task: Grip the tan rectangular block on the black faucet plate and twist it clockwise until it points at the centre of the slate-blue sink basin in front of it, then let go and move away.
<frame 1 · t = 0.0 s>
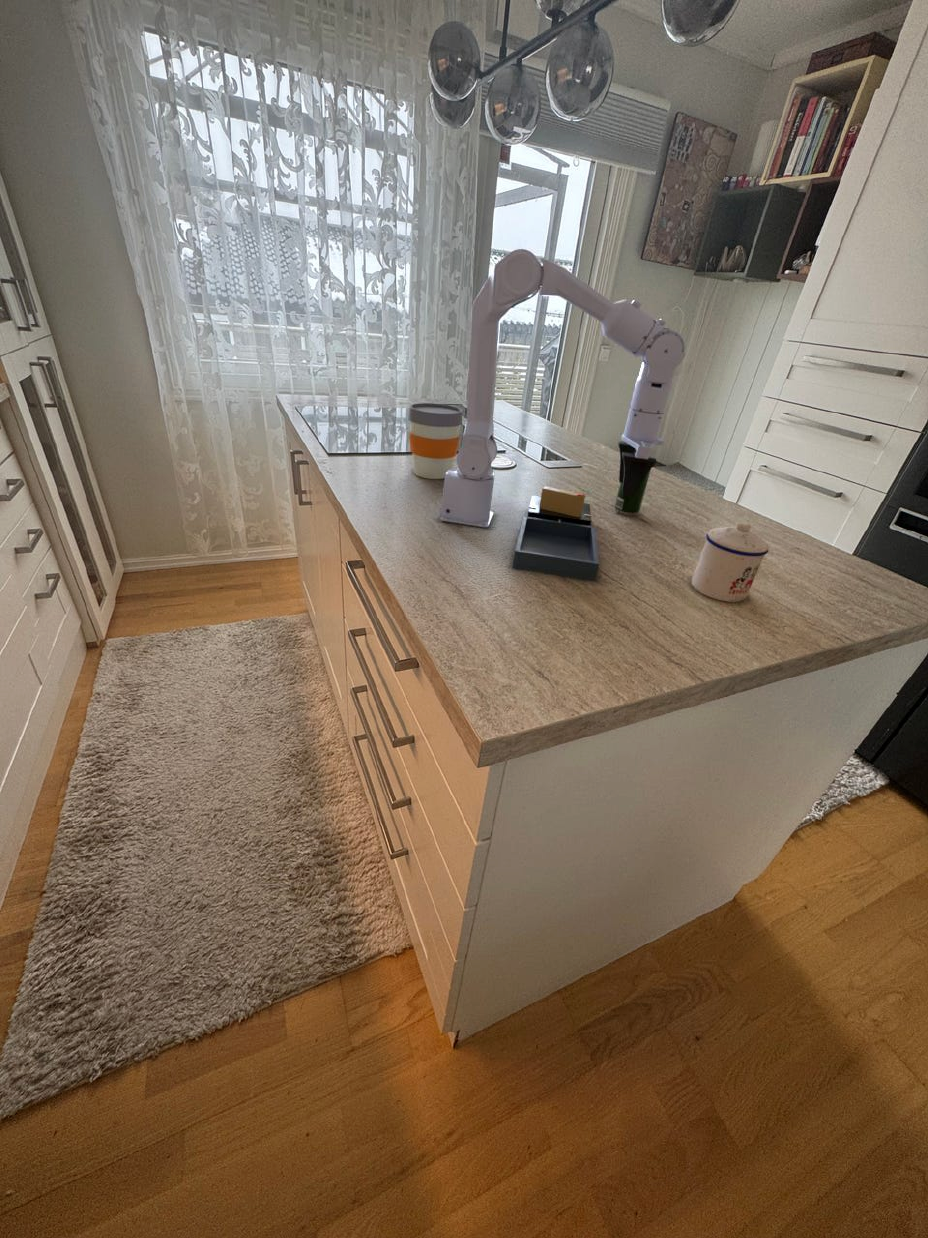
hand: (626, 488, 94), 10 cm above the worktop, tool pointing down, fingers open, 7 cm apart
beer can: (625, 512, 115), on the worktop
teacup with lid: (721, 588, 86), on the worktop
faucet plate: (556, 524, 104), on the worktop
tan rectangular block: (562, 500, 99), point 6 cm above the worktop, hinge at 75.0°
reusable coffee cup: (432, 473, 126), on the worktop
sink: (554, 554, 92), on the worktop
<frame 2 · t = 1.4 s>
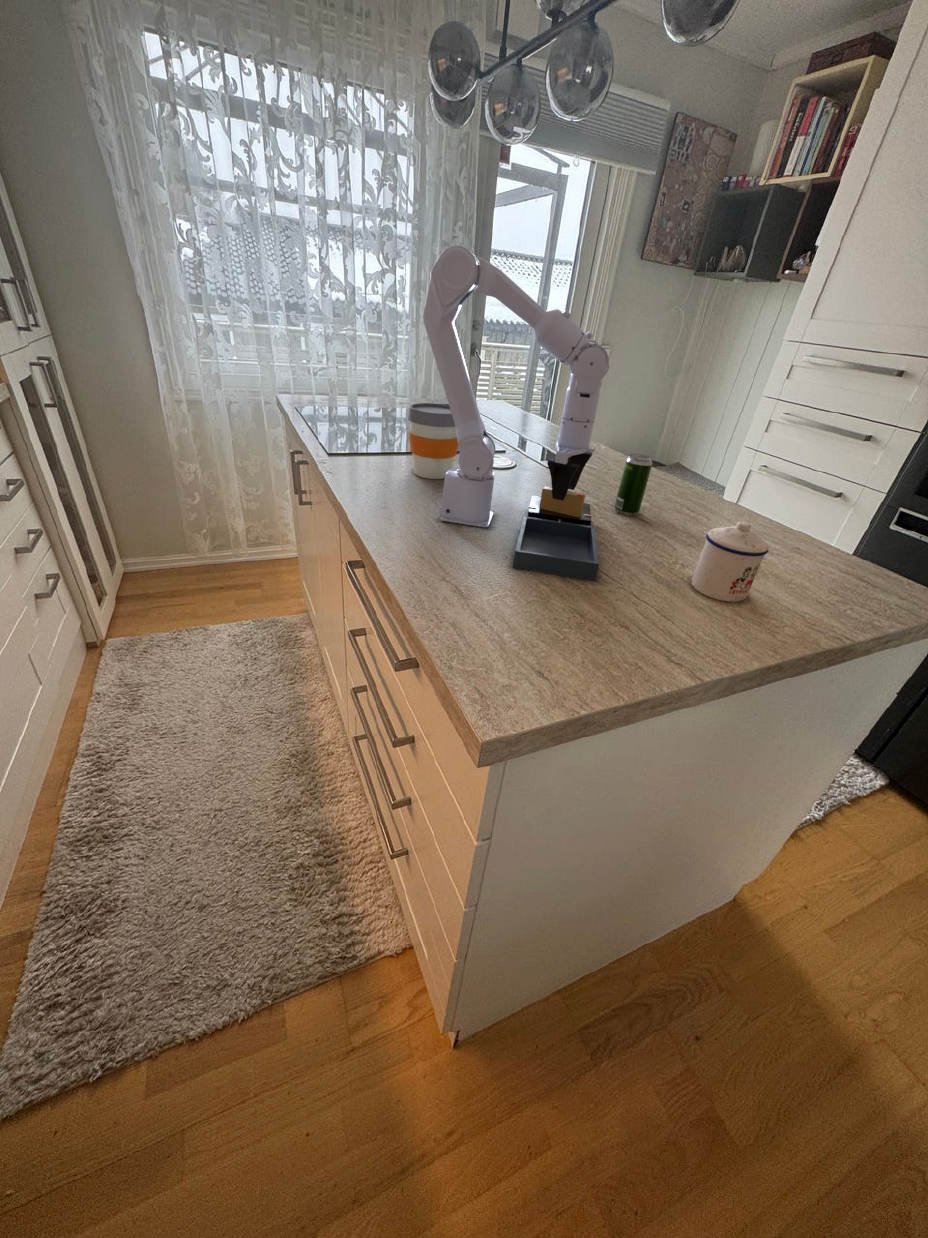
hand: (563, 493, 98), 7 cm above the worktop, tool pointing down, fingers open, 7 cm apart
nothing on the worktop moved.
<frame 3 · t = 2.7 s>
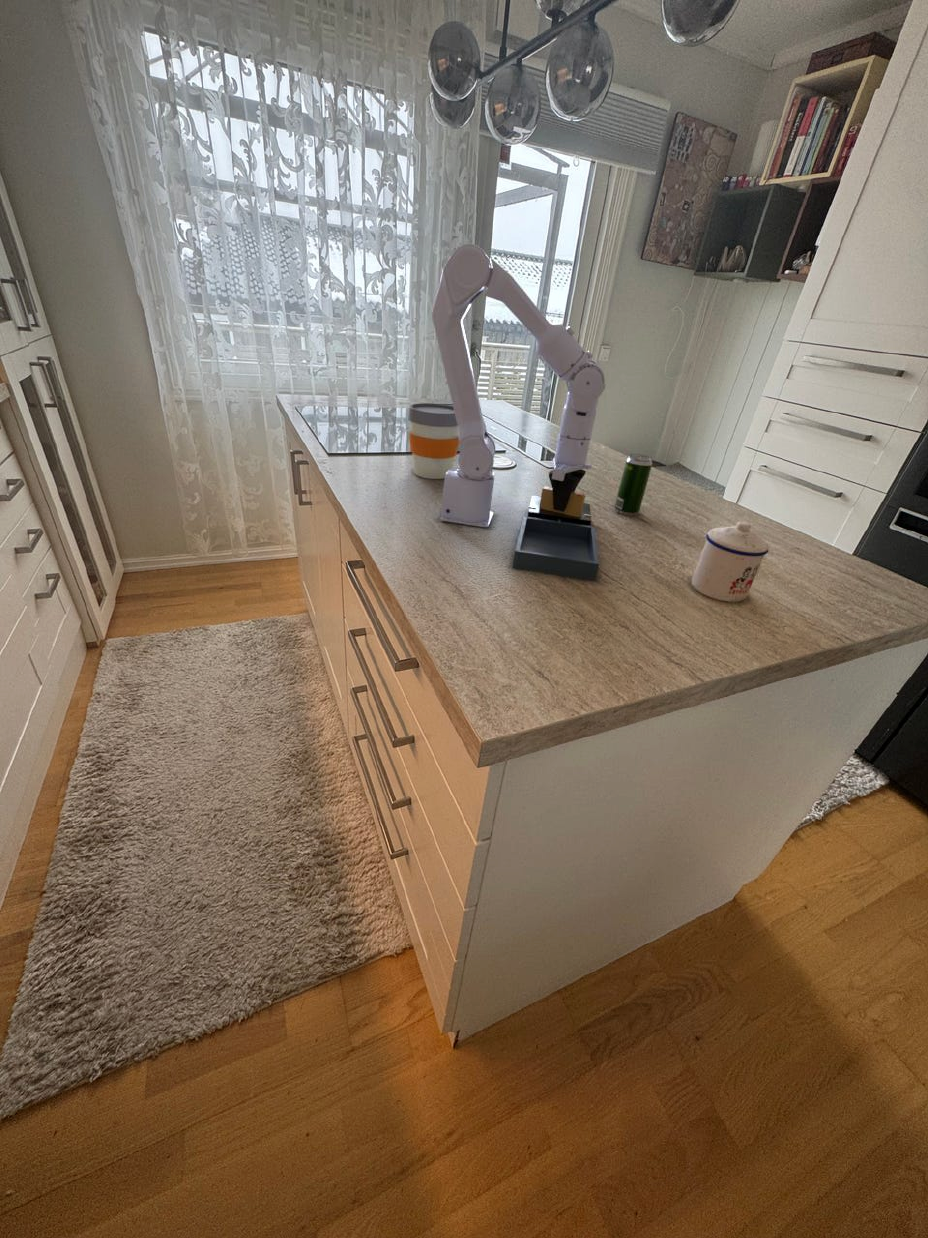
hand: (560, 508, 100), 4 cm above the worktop, tool pointing down, fingers closed on tan rectangular block, 2 cm apart
tan rectangular block: (562, 500, 99), point 6 cm above the worktop, hinge at 75.0°, touching gripper
everything else where it was.
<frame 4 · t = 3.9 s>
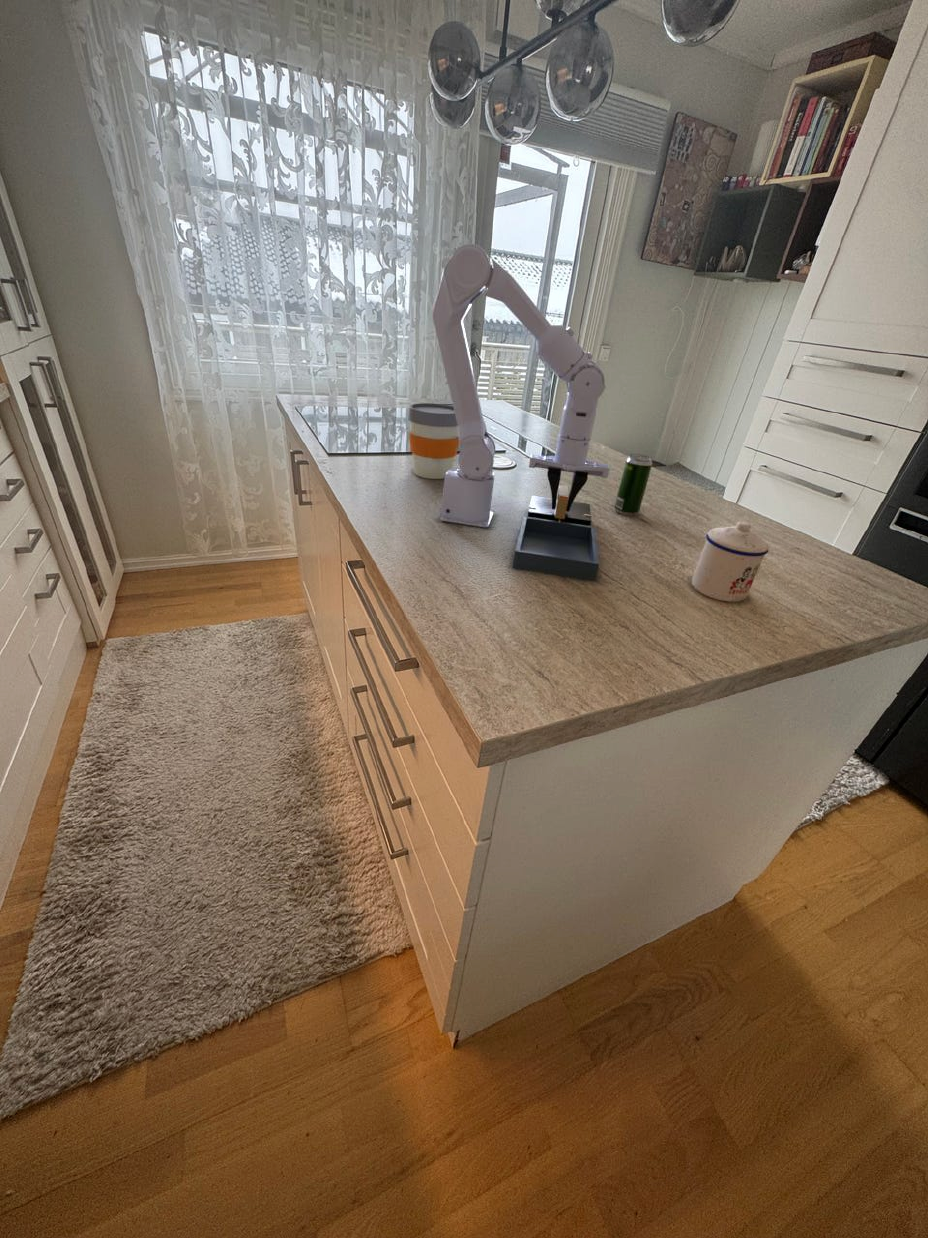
hand: (560, 508, 100), 4 cm above the worktop, tool pointing down, fingers closed
tan rectangular block: (562, 500, 99), point 6 cm above the worktop, hinge at 0.0°
everything else where it was.
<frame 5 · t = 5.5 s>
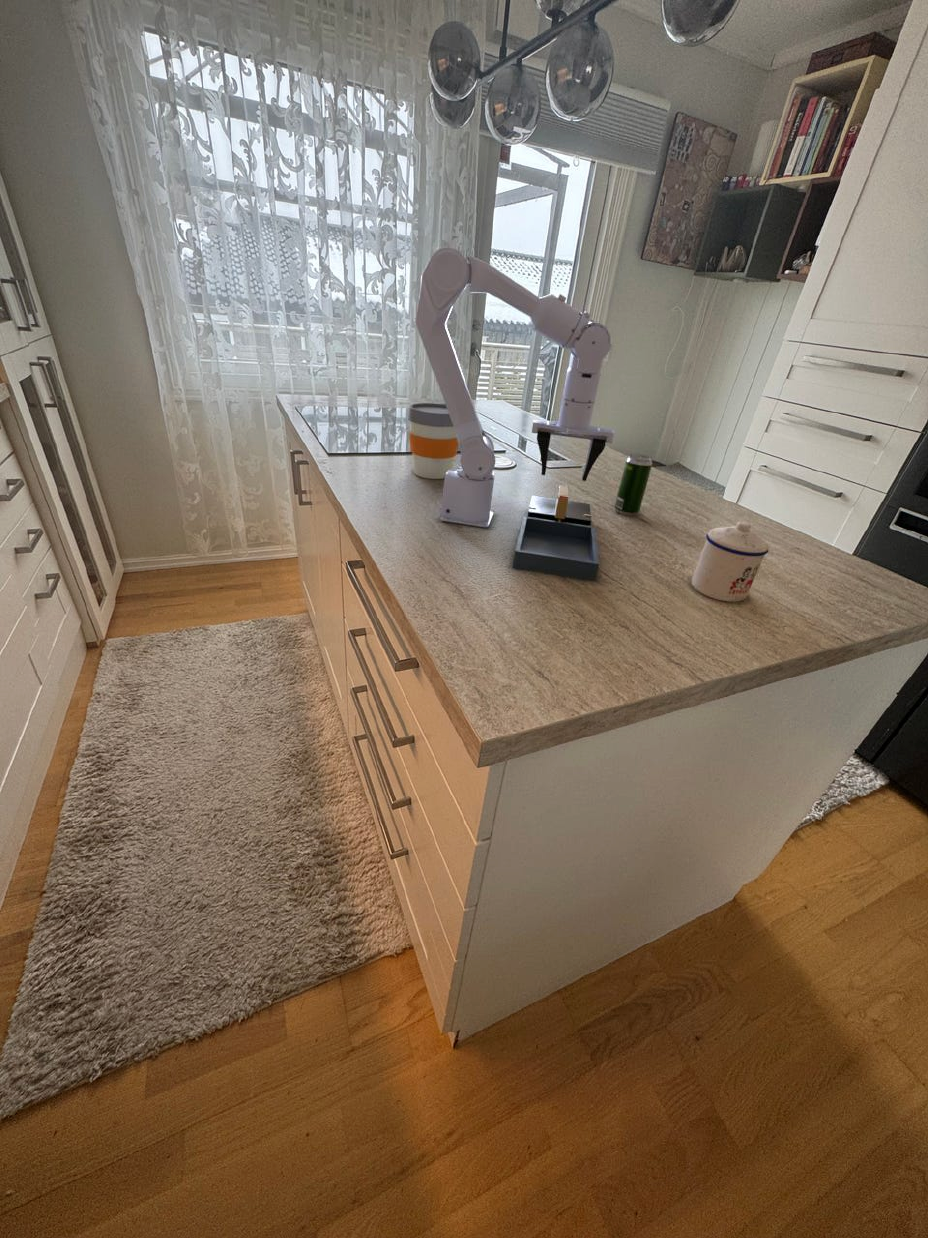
hand: (563, 476, 98), 10 cm above the worktop, tool pointing down, fingers open, 7 cm apart
nothing on the worktop moved.
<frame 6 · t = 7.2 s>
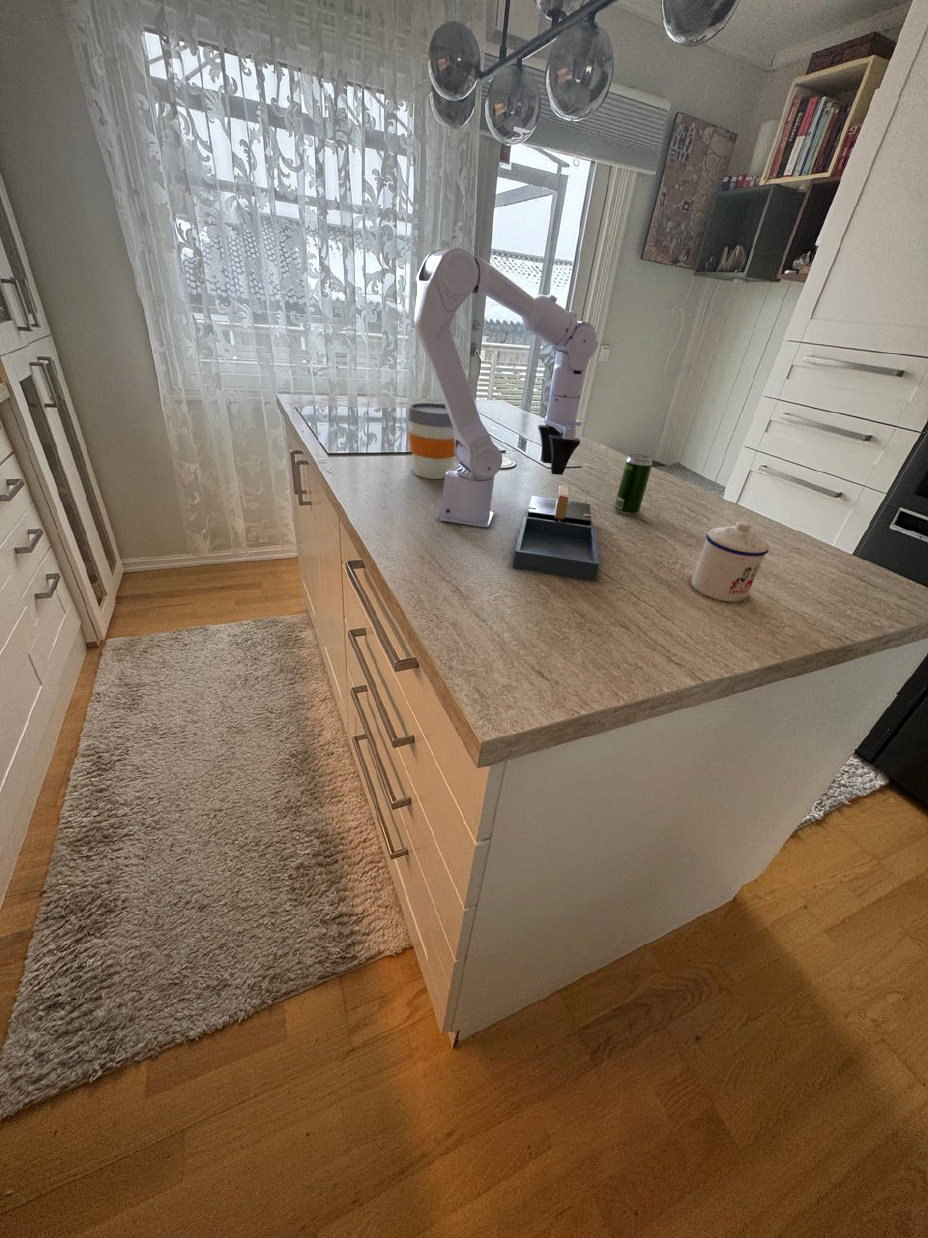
hand: (552, 468, 103), 10 cm above the worktop, tool pointing down, fingers open, 7 cm apart
nothing on the worktop moved.
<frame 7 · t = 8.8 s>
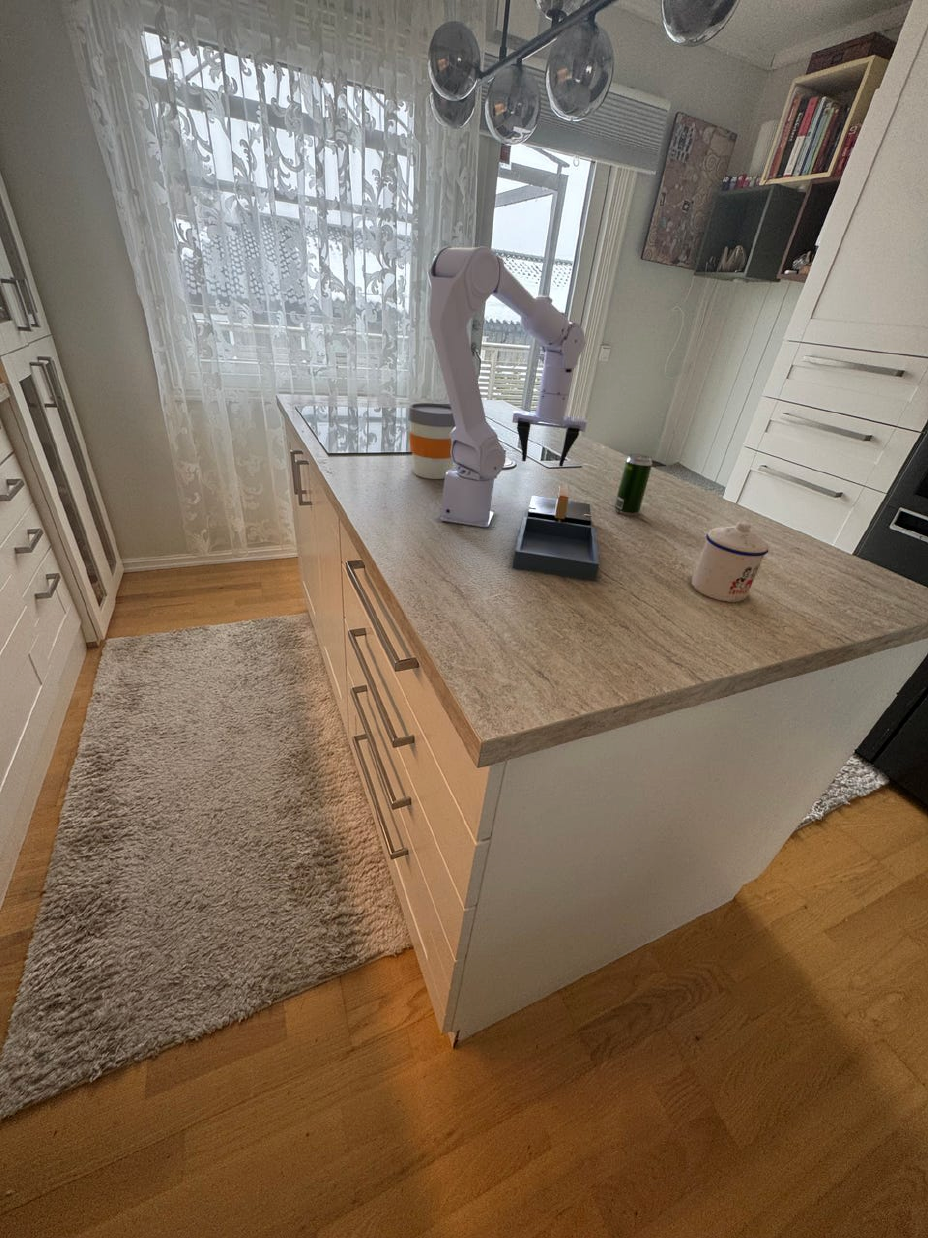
hand: (542, 462, 107), 9 cm above the worktop, tool pointing down, fingers open, 7 cm apart
nothing on the worktop moved.
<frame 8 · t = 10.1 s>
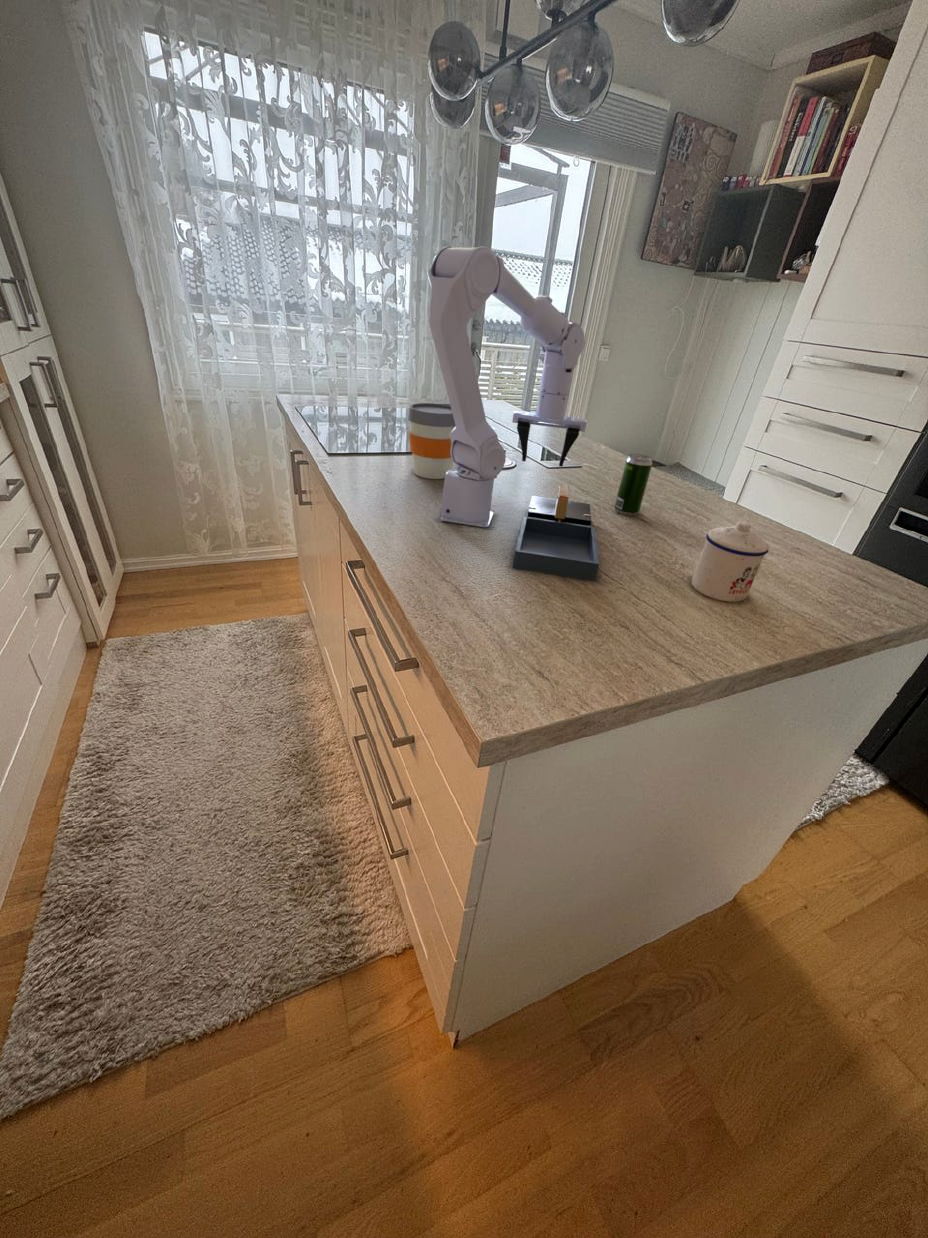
hand: (542, 462, 107), 9 cm above the worktop, tool pointing down, fingers open, 7 cm apart
nothing on the worktop moved.
at the end: tan rectangular block at +0° (first picture: +75°) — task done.
